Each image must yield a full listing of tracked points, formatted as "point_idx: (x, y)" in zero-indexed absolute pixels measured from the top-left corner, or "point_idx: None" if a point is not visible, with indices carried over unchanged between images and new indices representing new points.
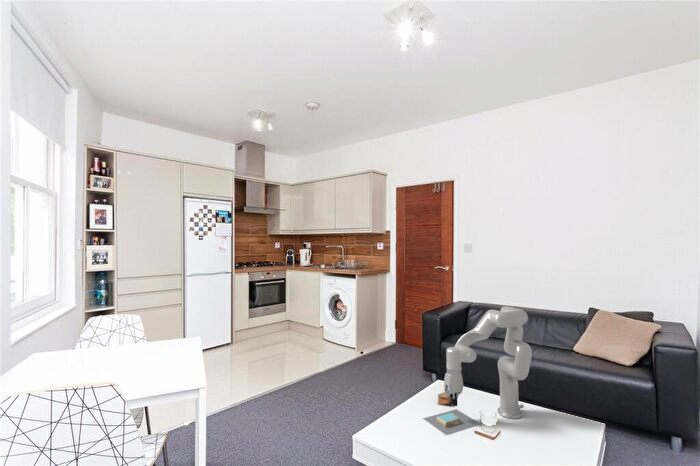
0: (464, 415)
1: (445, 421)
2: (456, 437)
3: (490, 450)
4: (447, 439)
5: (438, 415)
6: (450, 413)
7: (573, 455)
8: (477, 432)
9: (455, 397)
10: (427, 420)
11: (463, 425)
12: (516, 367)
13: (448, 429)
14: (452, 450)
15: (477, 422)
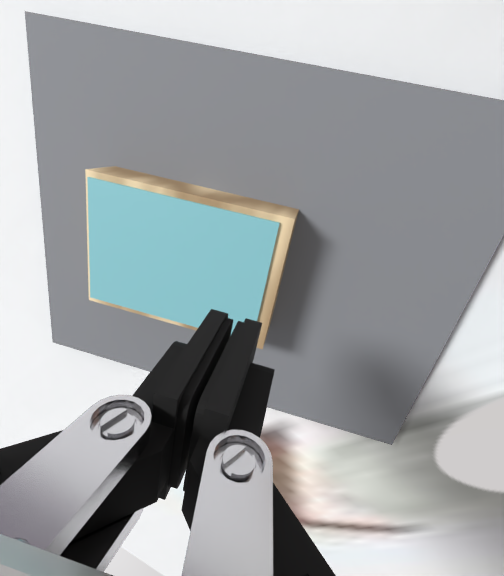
0: (451, 281)
1: (99, 291)
2: (108, 383)
3: (170, 529)
4: (45, 357)
5: (221, 81)
6: (270, 229)
7: None
8: (269, 445)
9: (185, 502)
10: (45, 88)
11: (257, 362)
12: None
13: (114, 314)
14: (10, 418)
15: (397, 414)
